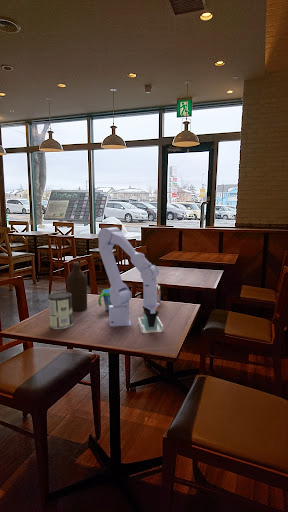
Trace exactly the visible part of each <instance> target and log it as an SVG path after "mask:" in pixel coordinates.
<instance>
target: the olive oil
mask: <svg viewBox="0 0 288 512" xmlns="http://www.w3.org/2000/svg"><path fill="white" fill-rule="evenodd" d="M80 267H81V266H80V262H79V261H74V262H72V270H71V272H70V273H69V274H68V276H67V277H66V289H67V290H66V291H67V292H68V293H71V294H72V313H73V312H83V311H84V312H85V311H86V310H87V309H88V278H87V275H86V274H85V273H84V272H83V271H82V270H81V268H80Z"/></svg>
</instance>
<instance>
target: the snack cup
mask: <svg viewBox="0 0 288 512" xmlns="http://www.w3.org/2000/svg"><path fill="white" fill-rule="evenodd" d="M109 290H110V287H109V288H106V289H105V288H104V289H102V291H101V293H100V294H99V296H98V306H100V307H102V306H103V305H102V298H103V301H104V308H105V310H106V311H108V312H109V305H112V304H111V302H110V294H109Z"/></svg>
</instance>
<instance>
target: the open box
mask: <svg viewBox="0 0 288 512" xmlns="http://www.w3.org/2000/svg"><path fill="white" fill-rule="evenodd" d="M137 322H138V327H139V329H140V332H141V334H149V333H150V334H151V333H162V332H164V324H163V323H162V321H161V320H160V318H159V316H157V329H154V330H145V327H144V316H141V317H137Z"/></svg>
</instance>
